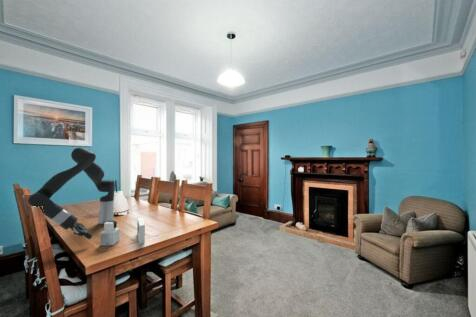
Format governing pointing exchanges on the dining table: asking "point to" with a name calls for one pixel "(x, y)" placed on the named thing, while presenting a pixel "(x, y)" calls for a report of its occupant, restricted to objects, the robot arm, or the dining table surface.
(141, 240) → the plate
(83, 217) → the dining table surface
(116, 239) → the container
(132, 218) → the dining table surface
